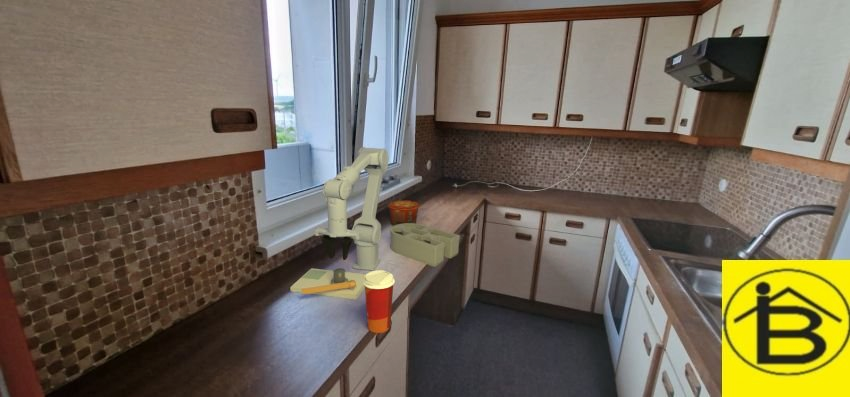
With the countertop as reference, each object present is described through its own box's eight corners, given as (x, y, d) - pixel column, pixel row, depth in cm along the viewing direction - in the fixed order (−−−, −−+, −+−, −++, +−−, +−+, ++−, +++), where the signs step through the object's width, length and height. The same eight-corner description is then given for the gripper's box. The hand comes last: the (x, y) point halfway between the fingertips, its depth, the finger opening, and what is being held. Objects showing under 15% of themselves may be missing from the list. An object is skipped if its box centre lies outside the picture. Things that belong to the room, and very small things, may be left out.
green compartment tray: (434, 268, 133) (435, 247, 131) (382, 249, 149) (382, 229, 147) (459, 255, 145) (460, 235, 143) (407, 238, 162) (408, 220, 160)
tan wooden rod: (301, 291, 107) (301, 287, 107) (355, 283, 113) (355, 279, 113) (302, 295, 105) (302, 291, 105) (356, 287, 111) (356, 283, 111)
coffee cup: (379, 314, 102) (379, 266, 98) (400, 326, 96) (401, 275, 93) (357, 327, 95) (356, 276, 92) (378, 340, 90) (377, 287, 86)
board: (311, 272, 126) (311, 266, 125) (370, 278, 122) (370, 272, 122) (290, 291, 113) (290, 284, 112) (356, 299, 109) (356, 292, 108)
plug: (335, 282, 119) (334, 266, 118) (350, 284, 118) (350, 267, 117) (327, 290, 114) (327, 273, 112) (344, 292, 113) (343, 275, 112)
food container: (421, 220, 189) (421, 200, 186) (416, 229, 174) (416, 208, 171) (391, 218, 191) (392, 198, 188) (384, 227, 176) (384, 206, 173)
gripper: (309, 219, 108) (311, 260, 111) (354, 223, 105) (355, 265, 109) (320, 213, 114) (321, 252, 118) (362, 216, 112) (363, 256, 115)
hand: (338, 258), depth 114 cm, fingers open, 4 cm apart
